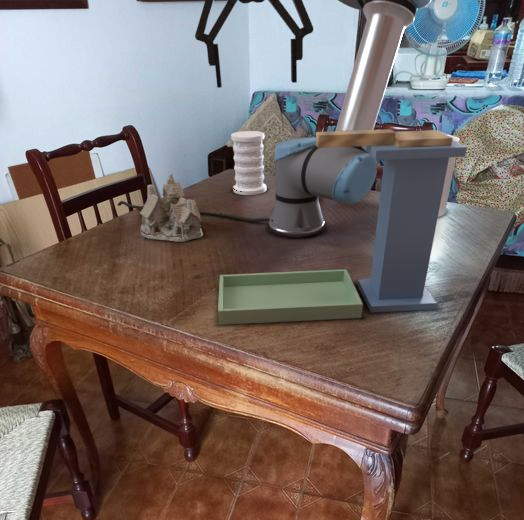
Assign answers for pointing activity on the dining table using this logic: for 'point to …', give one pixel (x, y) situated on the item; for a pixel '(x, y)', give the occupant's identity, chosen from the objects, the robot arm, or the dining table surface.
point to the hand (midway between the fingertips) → (256, 84)
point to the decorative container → (248, 162)
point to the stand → (406, 225)
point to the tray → (287, 297)
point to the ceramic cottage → (170, 214)
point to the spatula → (382, 138)
